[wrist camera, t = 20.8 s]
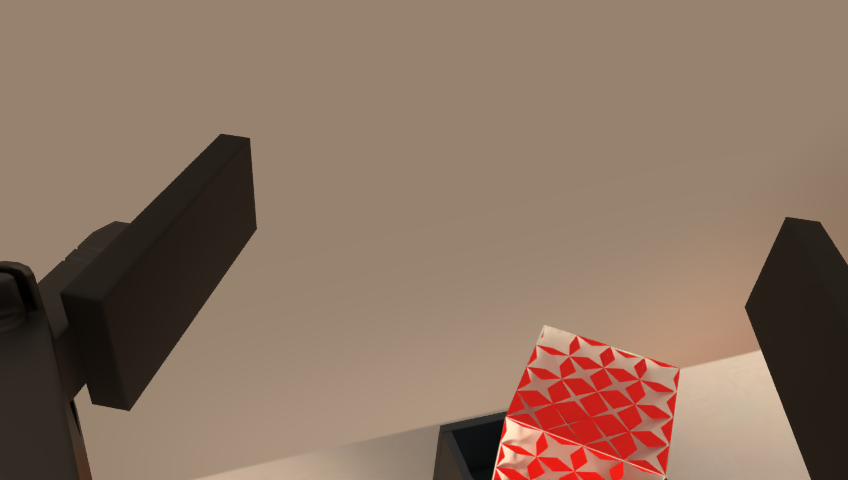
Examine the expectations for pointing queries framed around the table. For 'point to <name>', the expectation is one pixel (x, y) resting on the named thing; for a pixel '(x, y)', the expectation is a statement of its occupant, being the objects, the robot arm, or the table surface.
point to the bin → (469, 448)
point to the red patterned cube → (588, 414)
